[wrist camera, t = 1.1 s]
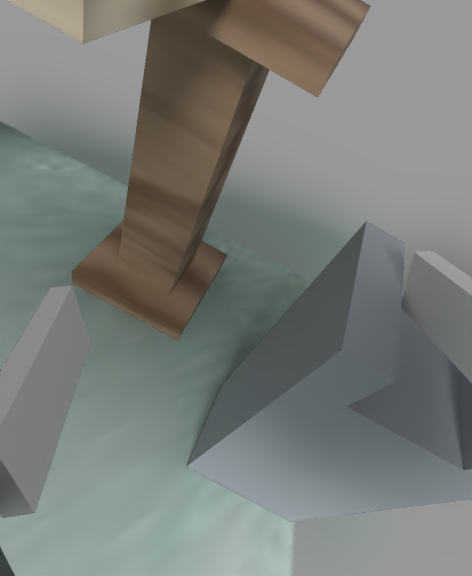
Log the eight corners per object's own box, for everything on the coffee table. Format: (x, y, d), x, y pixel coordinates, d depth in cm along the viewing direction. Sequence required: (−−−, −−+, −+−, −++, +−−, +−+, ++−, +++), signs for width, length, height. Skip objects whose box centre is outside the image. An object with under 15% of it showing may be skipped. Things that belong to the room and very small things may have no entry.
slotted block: (290, 521, 30) (587, 485, 12) (186, 466, 30) (341, 349, 12) (310, 432, 35) (538, 319, 18) (222, 384, 35) (366, 221, 17)
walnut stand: (186, 344, 36) (342, 50, 15) (63, 278, 35) (40, -126, 14) (228, 269, 44) (370, 6, 22) (128, 213, 43) (176, -109, 22)
